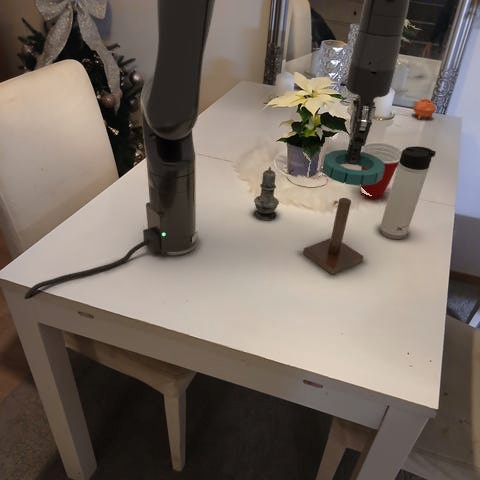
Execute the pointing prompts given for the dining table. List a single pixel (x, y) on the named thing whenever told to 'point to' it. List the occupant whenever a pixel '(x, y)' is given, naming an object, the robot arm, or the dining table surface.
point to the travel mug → (405, 191)
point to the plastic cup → (390, 159)
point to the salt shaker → (266, 197)
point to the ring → (353, 176)
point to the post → (335, 245)
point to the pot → (424, 108)
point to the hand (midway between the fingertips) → (351, 160)
